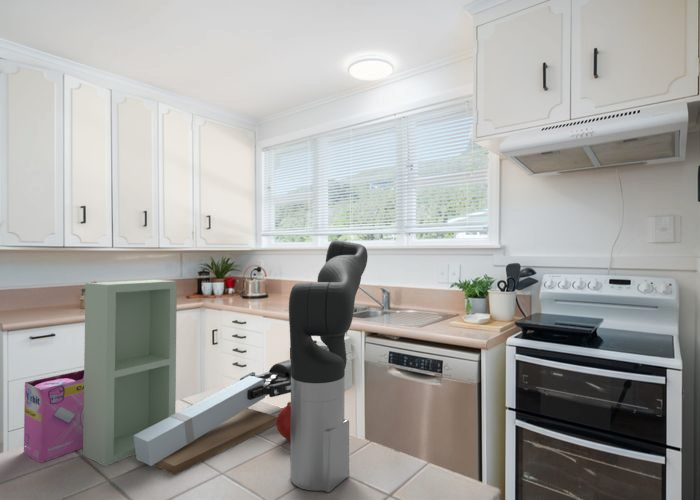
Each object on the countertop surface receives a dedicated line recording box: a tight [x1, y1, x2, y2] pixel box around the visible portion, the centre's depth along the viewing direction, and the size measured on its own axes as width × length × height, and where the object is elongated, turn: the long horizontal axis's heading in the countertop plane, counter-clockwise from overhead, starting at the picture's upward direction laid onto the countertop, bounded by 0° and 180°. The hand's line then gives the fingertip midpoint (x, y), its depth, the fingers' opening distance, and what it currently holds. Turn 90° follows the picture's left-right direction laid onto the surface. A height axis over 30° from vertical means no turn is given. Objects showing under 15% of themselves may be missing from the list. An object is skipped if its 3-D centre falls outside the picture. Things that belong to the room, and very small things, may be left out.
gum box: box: [23, 369, 84, 463], centre depth 86 cm, size 24×8×14 cm, turn 148°
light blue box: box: [133, 376, 266, 467], centre depth 83 cm, size 5×28×5 cm, turn 147°
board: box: [134, 407, 278, 476], centre depth 84 cm, size 12×26×2 cm, turn 147°
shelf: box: [82, 279, 178, 467], centre depth 81 cm, size 8×14×32 cm, turn 147°
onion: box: [275, 401, 291, 442], centre depth 84 cm, size 6×6×8 cm
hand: (240, 393), depth 91 cm, fingers closed on light blue box, 4 cm apart
